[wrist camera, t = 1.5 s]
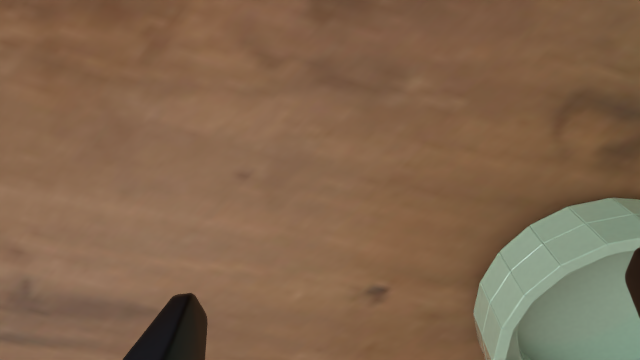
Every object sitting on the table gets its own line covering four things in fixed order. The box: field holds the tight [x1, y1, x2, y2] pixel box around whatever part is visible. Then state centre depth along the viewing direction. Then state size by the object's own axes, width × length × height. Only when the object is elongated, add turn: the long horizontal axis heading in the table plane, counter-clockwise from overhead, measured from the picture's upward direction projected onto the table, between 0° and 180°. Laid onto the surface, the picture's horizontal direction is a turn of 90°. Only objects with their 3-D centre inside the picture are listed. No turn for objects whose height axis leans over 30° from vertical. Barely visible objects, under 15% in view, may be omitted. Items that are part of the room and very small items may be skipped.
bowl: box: [474, 198, 640, 360], centre depth 24 cm, size 13×13×4 cm
